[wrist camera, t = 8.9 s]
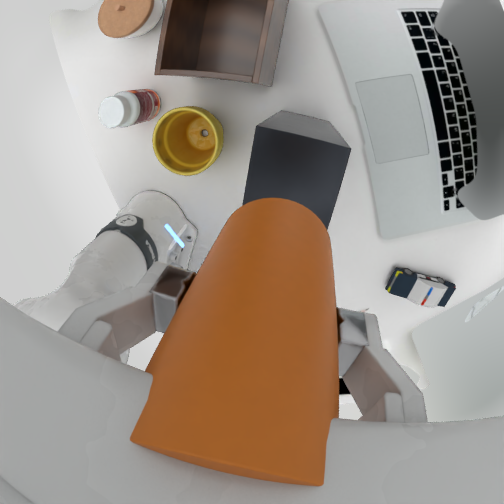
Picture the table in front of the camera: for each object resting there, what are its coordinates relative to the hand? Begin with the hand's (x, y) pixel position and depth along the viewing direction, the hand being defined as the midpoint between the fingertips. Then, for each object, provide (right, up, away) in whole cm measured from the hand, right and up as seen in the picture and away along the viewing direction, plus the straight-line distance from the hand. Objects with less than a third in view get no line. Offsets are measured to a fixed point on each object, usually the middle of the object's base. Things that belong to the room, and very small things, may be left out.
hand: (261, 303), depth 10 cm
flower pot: (-8, +22, +36) cm, 43 cm away
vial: (+1, +2, +3) cm, 4 cm away
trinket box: (-19, +44, +25) cm, 54 cm away
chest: (-2, +36, +26) cm, 45 cm away
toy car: (+35, -5, +43) cm, 56 cm away
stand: (+8, +20, +34) cm, 40 cm away
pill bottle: (-19, +28, +35) cm, 49 cm away
